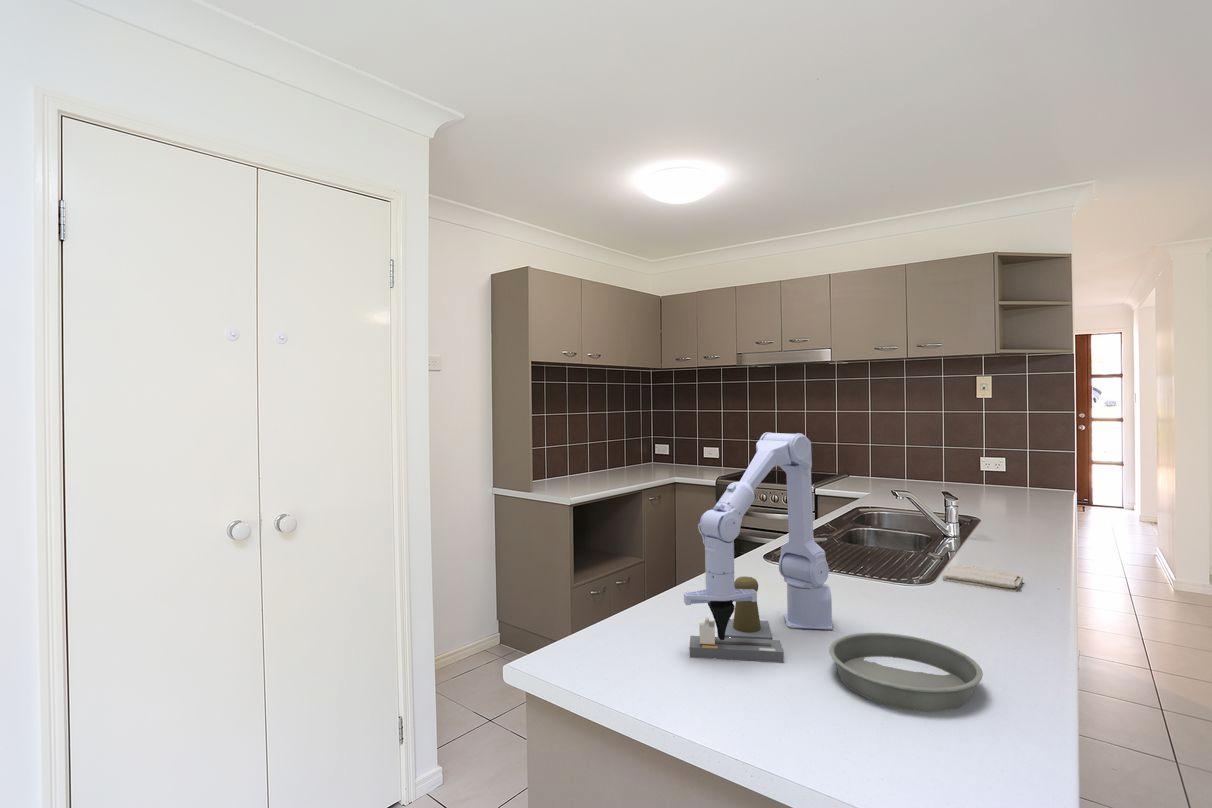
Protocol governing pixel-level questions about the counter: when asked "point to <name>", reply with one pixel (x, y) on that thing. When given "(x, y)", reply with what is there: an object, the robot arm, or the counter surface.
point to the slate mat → (761, 634)
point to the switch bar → (738, 649)
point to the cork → (746, 608)
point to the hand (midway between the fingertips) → (721, 638)
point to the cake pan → (905, 671)
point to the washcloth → (983, 578)
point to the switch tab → (707, 631)
